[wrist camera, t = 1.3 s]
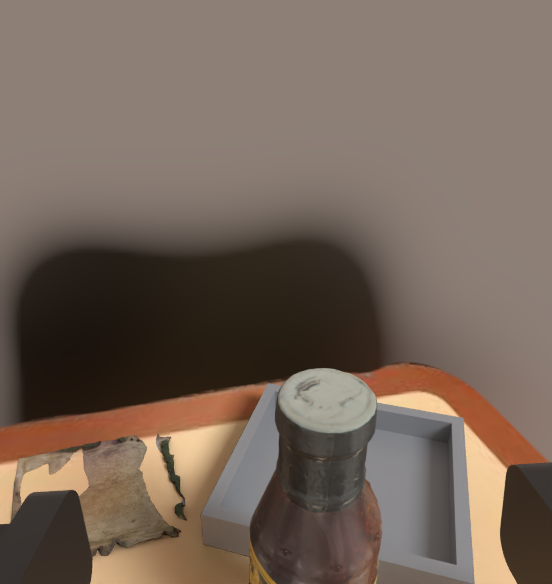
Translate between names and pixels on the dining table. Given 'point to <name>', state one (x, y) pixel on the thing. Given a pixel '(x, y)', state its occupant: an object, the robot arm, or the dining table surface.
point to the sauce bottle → (319, 486)
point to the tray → (384, 482)
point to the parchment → (112, 491)
